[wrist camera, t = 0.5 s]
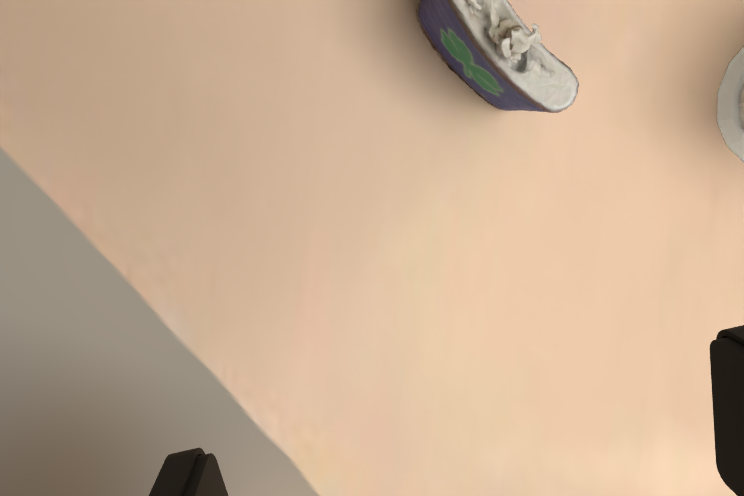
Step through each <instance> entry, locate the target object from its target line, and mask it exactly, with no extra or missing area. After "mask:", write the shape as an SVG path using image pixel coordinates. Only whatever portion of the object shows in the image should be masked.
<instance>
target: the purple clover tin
mask: <svg viewBox="0 0 744 496" xmlns="http://www.w3.org/2000/svg"><path fill="white" fill-rule="evenodd" d="M416 12H417V19H418V21H419V23H420V25H421V28H422V31H423V33H424V34H425V36H426V37H427V38H428V40H429V41H430V43H431V45H432V47H433V48H434V50H436V51H437V53H438V55H439V56H440V57H441V59H442V60H443V61H444V62H445V63H446V64H447V65H448V67H449V68H450V69H451V70H452V71H454V72H455V73H456V74H457V75H458V76H459V77H460V78H461V79H462V80H463V81H465V83H466V84H467V85H469V87H470V88H472V89H474V91H475V92H476V93H477V94H478V95H479V96H481V97H483V99H484V100H485V101H487V102H488V103H490V104H491V105H494V106H495V107H496V108H499V109H502V110H507V111H512V110H513V111H515V110H526V111H540V112H551V113H558V112H561V111H563V110H565V109H566V108H568V107H569V106H571V105H572V104H573V102H574V100H575V98H576V95H577V93H578V86H579V83H578V80H577V78H576V76H575V75H574V73H573V72H572V70H571V68H569V67H568V66H567V65H566V64H564V63H563V62H562V61H560V60H559V59H558V58H556V57H555V56H554V55H553V54H552V53H550V52H549V51H548V50H547V49H546V48H545V47H544V46H543V44H541V39H542V37H541V34H540V32H539V26H538V25H537V24H532V25H531V26H532V28H533V32H532V33H531V31H530V30H529V29H528V28H527V27H526V25H525V24H524V23H523V22H522V20H521V19H520V18H519V16H518V15H517V14H516V13H515V11H514V10H513V8H512V7H511V5H510V4H509V2H508V1H507V0H420V2H419V5H418V8H417V10H416Z"/></svg>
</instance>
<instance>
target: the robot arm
mask: <svg viewBox="0 0 744 496" xmlns="http://www.w3.org/2000/svg"><path fill="white" fill-rule="evenodd" d="M710 361H711V379H712V397H713V415H714V433H715V451H716V464H717V469H718V472H719V474H720V476H721V478H722V479H723V481H724V482H725V484H726V485H727V486H728V487H729V488H730V489H731V490H732V491H733V492H734V493H735V494H736V495H737V496H744V325H743V326H738V327H734V328H729V329H725V330H721V331H720V332H719V333H718V335H717V338H716V340H713V341H712V342H711V344H710ZM149 496H228V493H227V490H226V487H225V484H224V481H223V478H222V476H221V473H220V469H219V466H218V463H217V460H216V458H215V456H214V455H213V454H212V453H210V454H206V455H205V453H204V451H203V450H202V449H201V448H196V449H191V450H187V451H183V452H178V453H173V454H170V455H168V456H167V458H166V459H165V462H164V464H163V466H162V468H161V470H160V472H159V475H158V477H157V479H156V481H155V483H154V486H153V488H152V490H151V492H150V494H149Z"/></svg>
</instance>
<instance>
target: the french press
mask: <svg viewBox="0 0 744 496" xmlns="http://www.w3.org/2000/svg"><path fill="white" fill-rule="evenodd" d="M717 123H718V125H719V128H720V130H721V133H722V136H723V138H724V141H725V143H726V146H727V147H728V148H729V149H730V150H731V151H732V152H734V153H735V154H736V155H737V156H738V157H739V158H740V159H741V160H742V161H743V162H744V47H743V48H742V49H741V50H740V51H739V52H738V54H737V55H736V56H735V57H734V58H733V60H732V61H731V62H730V63H729V65H728V68H727V70H726V73H725V75H724V78H723V80H722V83H721V85H720V88H719V90H718V101H717Z"/></svg>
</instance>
